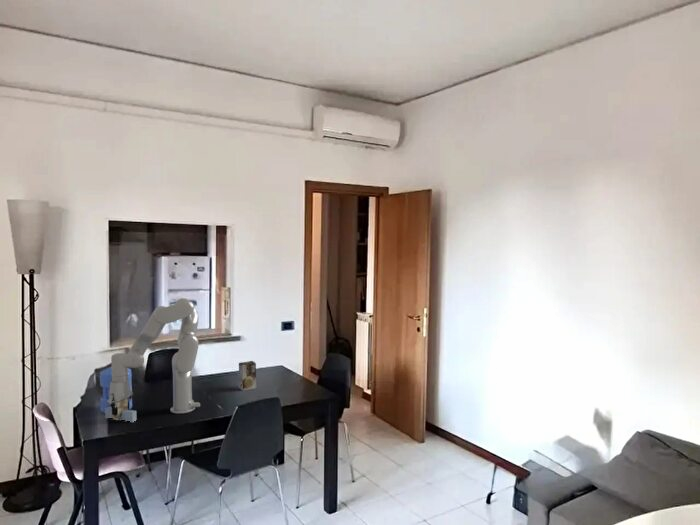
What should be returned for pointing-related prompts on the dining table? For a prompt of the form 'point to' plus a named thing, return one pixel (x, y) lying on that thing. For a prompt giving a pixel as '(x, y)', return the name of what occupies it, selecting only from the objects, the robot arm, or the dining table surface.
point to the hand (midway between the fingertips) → (120, 412)
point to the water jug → (105, 383)
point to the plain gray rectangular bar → (126, 414)
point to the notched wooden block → (121, 408)
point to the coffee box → (247, 375)
